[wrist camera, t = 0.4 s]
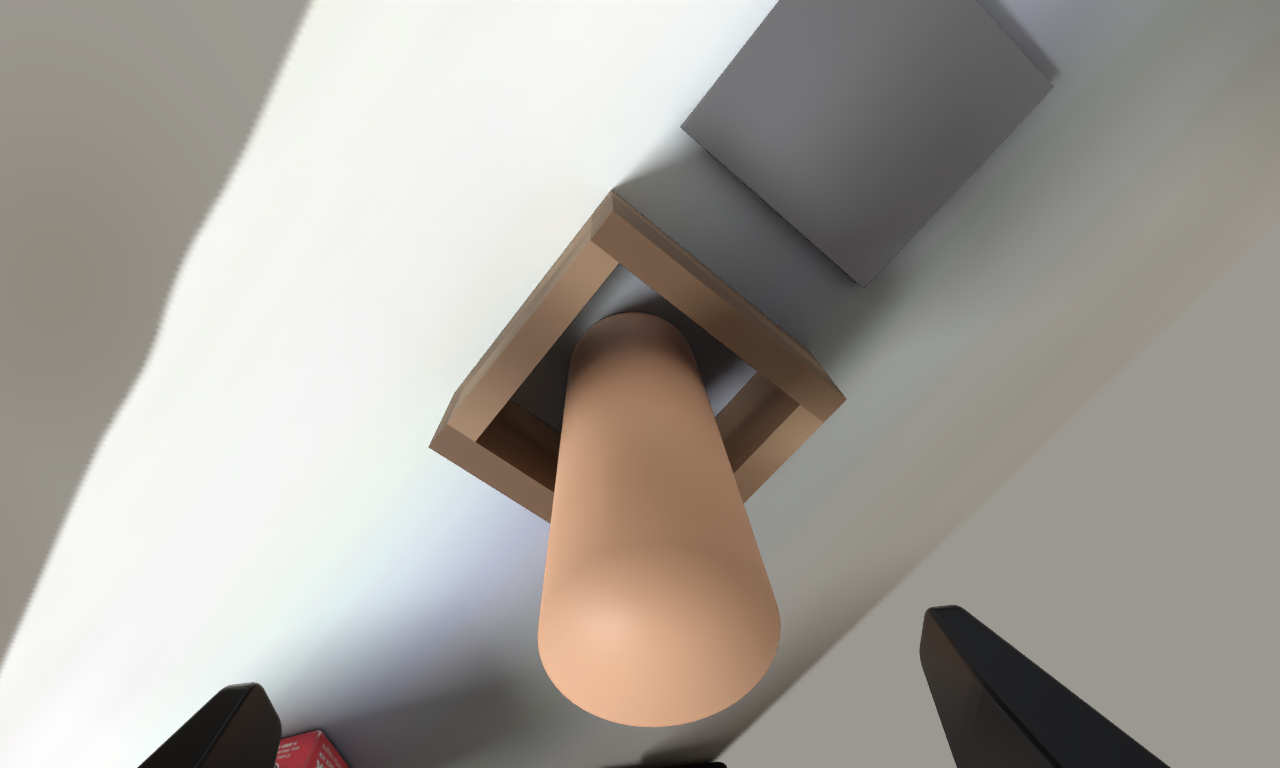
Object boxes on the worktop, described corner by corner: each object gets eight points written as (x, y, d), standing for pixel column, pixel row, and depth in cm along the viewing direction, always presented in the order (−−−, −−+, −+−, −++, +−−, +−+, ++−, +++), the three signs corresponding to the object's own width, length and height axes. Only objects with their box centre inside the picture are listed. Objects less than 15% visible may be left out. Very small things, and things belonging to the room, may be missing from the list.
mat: (857, 283, 24) (863, 288, 24) (680, 127, 22) (682, 128, 21) (1042, 86, 22) (1053, 86, 21) (865, -111, 20) (873, -117, 19)
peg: (700, 422, 26) (783, 713, 14) (578, 436, 26) (557, 738, 14) (690, 305, 24) (777, 523, 12) (560, 319, 24) (518, 552, 12)
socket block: (649, 522, 27) (657, 590, 24) (453, 393, 25) (428, 447, 21) (811, 352, 25) (846, 399, 21) (611, 189, 22) (613, 210, 19)
